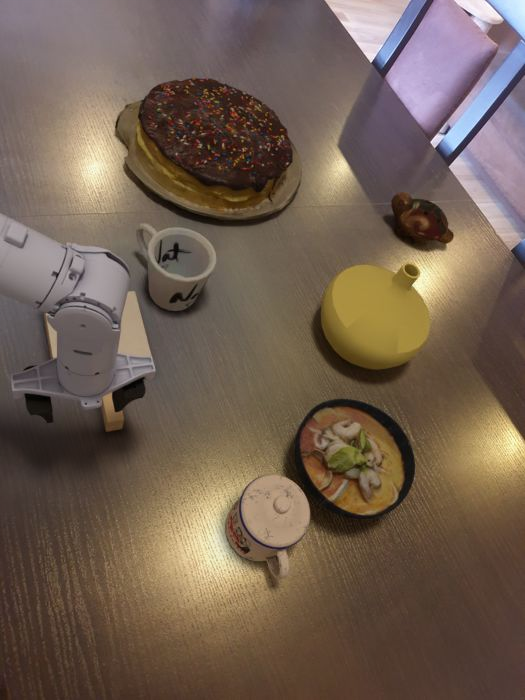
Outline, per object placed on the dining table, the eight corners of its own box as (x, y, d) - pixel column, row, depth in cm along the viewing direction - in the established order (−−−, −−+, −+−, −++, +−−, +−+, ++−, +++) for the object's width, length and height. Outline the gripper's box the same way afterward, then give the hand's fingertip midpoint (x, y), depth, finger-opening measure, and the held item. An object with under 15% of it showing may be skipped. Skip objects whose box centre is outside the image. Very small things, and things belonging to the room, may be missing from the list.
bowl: (402, 519, 83) (439, 499, 75) (298, 546, 76) (326, 526, 68) (361, 414, 91) (391, 385, 83) (263, 430, 84) (285, 400, 76)
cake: (267, 103, 128) (279, 61, 120) (325, 222, 112) (344, 183, 103) (101, 96, 114) (103, 48, 106) (140, 231, 97) (145, 187, 89)
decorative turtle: (378, 205, 120) (399, 176, 114) (440, 233, 123) (463, 207, 116) (376, 235, 114) (398, 206, 108) (441, 264, 117) (465, 237, 110)
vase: (392, 403, 94) (458, 342, 78) (293, 355, 93) (340, 284, 77) (412, 324, 104) (473, 257, 89) (323, 280, 104) (369, 205, 88)
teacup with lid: (216, 501, 76) (238, 472, 67) (277, 490, 80) (306, 460, 70) (237, 594, 71) (264, 577, 61) (302, 578, 74) (337, 559, 65)
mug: (170, 330, 88) (181, 292, 80) (107, 267, 91) (112, 224, 83) (216, 299, 94) (231, 260, 86) (156, 241, 97) (165, 198, 89)
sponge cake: (55, 384, 78) (54, 368, 75) (43, 316, 83) (42, 298, 80) (147, 371, 84) (151, 356, 80) (131, 308, 88) (134, 290, 85)
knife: (122, 429, 78) (124, 419, 75) (106, 431, 77) (107, 422, 74) (98, 318, 86) (99, 306, 83) (83, 319, 85) (83, 307, 82)
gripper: (12, 398, 51) (21, 453, 62) (168, 375, 57) (151, 429, 68) (4, 332, 54) (13, 396, 65) (153, 317, 60) (139, 378, 71)
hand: (83, 409), depth 67 cm, fingers open, 7 cm apart
